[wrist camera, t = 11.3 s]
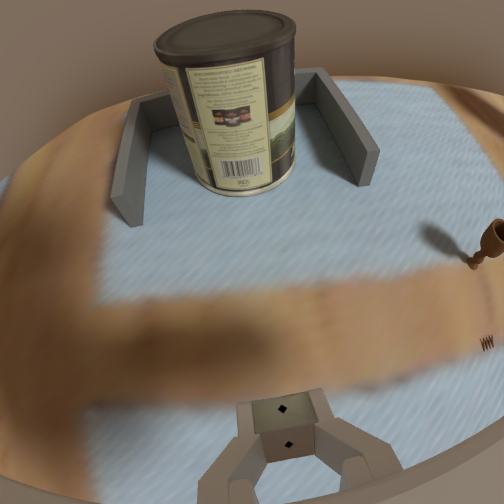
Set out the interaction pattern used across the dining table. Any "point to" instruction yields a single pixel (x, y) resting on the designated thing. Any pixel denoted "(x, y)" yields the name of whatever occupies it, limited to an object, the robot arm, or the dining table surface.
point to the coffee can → (234, 97)
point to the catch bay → (164, 115)
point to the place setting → (489, 250)
